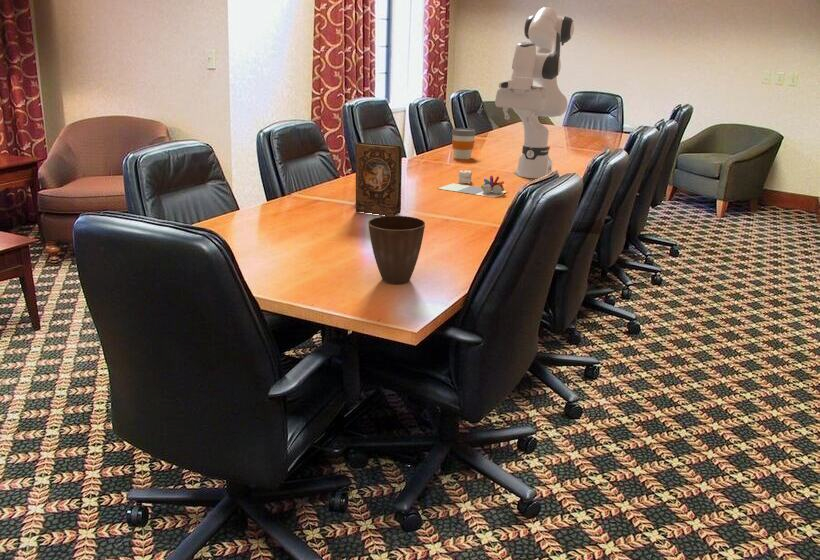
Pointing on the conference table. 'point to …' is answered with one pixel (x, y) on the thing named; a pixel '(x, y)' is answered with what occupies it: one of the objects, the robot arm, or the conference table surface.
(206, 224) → the conference table surface
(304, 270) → the conference table surface
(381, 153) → the book
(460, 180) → the die
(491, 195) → the game mat
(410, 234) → the plant pot
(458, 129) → the reusable coffee cup
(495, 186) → the rainbow segmented toy
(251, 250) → the conference table surface
